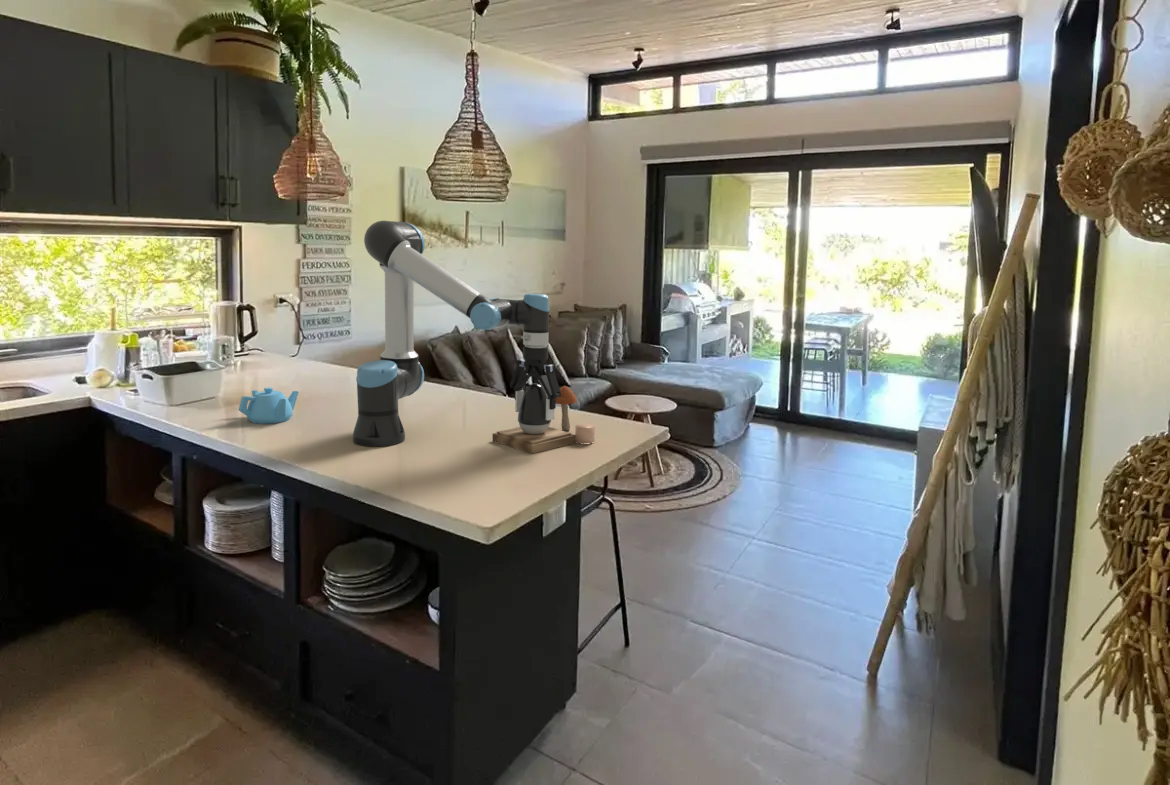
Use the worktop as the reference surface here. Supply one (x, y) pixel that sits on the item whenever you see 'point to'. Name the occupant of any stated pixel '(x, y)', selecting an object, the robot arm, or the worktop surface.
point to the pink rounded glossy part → (585, 433)
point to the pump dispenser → (533, 410)
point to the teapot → (268, 406)
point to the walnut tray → (534, 439)
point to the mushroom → (565, 405)
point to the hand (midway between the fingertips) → (534, 415)
